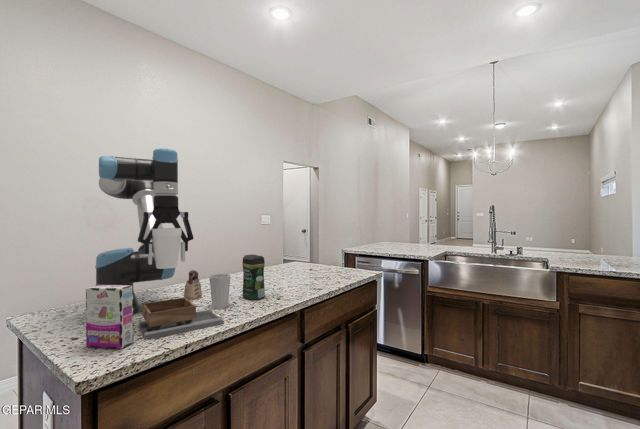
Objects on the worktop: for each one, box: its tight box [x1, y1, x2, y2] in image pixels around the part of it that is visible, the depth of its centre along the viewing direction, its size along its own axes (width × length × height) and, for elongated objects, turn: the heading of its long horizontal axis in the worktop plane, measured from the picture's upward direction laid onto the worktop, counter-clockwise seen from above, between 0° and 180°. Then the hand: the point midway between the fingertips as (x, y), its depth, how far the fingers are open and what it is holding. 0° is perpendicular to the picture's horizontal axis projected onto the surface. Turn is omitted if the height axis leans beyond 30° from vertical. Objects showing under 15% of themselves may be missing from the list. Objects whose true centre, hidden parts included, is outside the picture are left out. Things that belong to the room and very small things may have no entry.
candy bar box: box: [85, 284, 135, 350], centre depth 91 cm, size 11×5×16 cm, turn 81°
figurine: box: [183, 269, 203, 301], centre depth 142 cm, size 7×7×12 cm
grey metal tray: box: [138, 308, 225, 341], centre depth 107 cm, size 14×23×2 cm, turn 126°
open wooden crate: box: [142, 297, 197, 330], centre depth 105 cm, size 13×13×5 cm
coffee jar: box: [241, 254, 266, 301], centre depth 141 cm, size 10×8×19 cm
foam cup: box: [151, 227, 183, 269], centre depth 109 cm, size 10×9×13 cm
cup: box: [208, 273, 231, 310], centre depth 128 cm, size 8×8×12 cm
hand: (166, 262), depth 109 cm, fingers closed on foam cup, 9 cm apart
